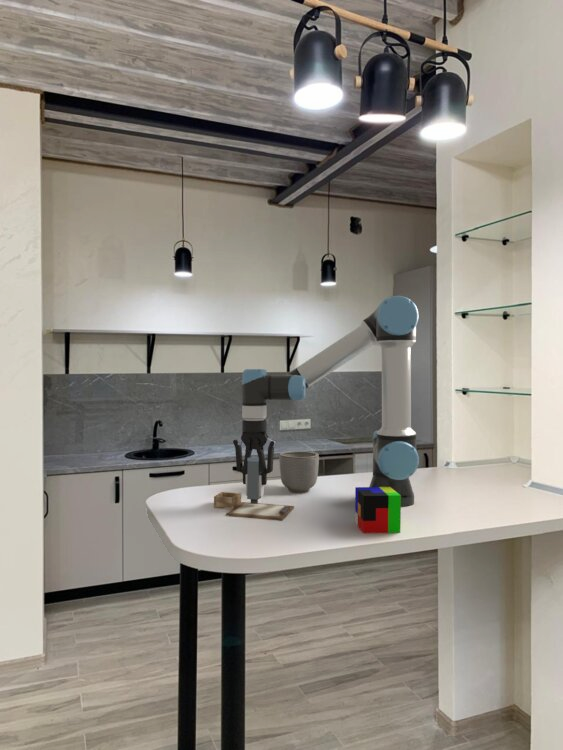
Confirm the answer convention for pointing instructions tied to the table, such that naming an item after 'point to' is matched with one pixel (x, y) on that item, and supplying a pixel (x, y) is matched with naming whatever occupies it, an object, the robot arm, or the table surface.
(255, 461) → the blue-grey tall block
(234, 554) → the table surface
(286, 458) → the planter
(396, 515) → the puzzle toy
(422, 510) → the table surface
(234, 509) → the clipboard
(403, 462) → the robot arm
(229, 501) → the holder
